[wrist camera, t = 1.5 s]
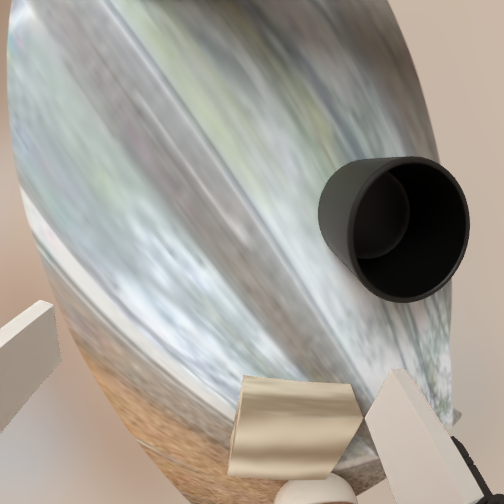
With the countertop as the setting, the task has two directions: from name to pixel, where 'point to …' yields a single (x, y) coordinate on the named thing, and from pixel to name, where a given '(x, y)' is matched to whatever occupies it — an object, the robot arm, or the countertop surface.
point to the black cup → (396, 225)
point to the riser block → (291, 428)
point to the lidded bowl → (316, 492)
